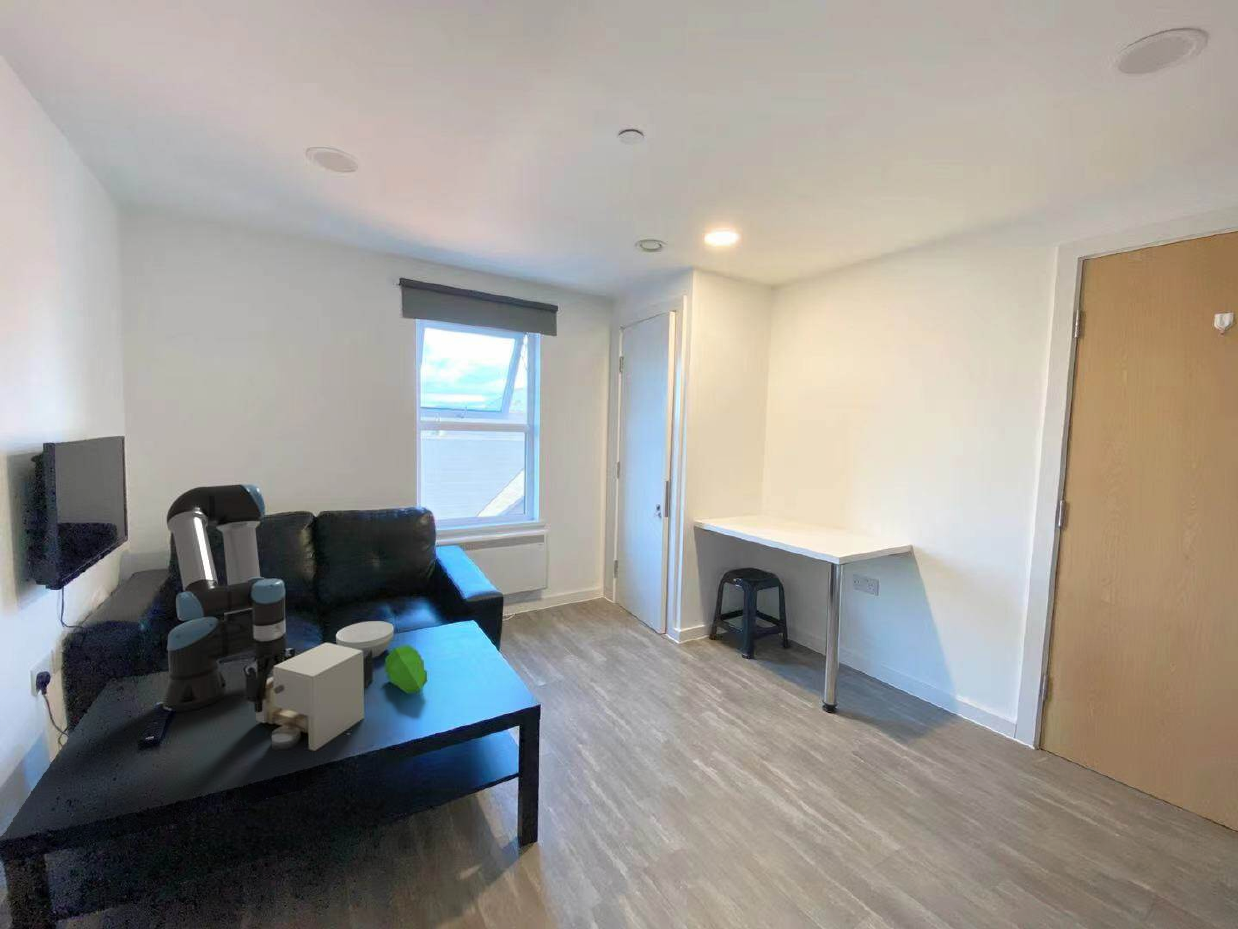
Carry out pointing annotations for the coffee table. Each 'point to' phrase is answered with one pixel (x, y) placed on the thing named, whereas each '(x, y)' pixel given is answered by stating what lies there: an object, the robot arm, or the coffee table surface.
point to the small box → (367, 667)
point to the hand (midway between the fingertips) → (272, 715)
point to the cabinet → (322, 689)
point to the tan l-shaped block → (282, 711)
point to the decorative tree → (406, 669)
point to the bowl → (366, 636)
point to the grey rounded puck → (286, 736)
